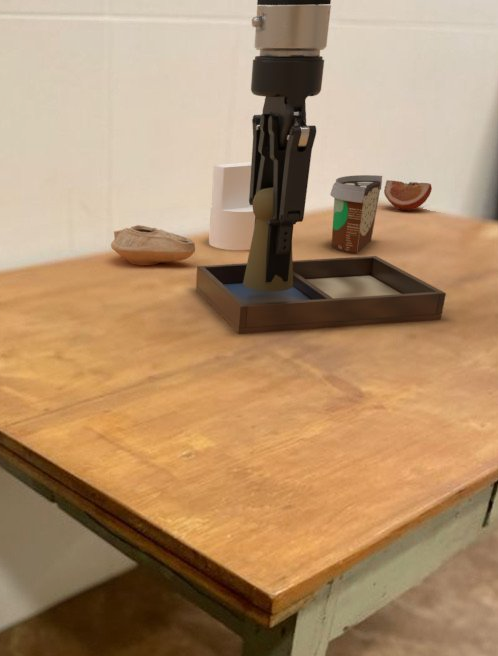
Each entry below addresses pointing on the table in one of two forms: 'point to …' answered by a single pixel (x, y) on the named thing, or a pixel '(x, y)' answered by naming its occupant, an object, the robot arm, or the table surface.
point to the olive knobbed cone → (263, 248)
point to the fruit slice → (407, 194)
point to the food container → (354, 211)
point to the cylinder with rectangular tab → (231, 207)
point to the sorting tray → (321, 296)
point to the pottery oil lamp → (151, 245)
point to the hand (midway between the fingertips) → (269, 275)
